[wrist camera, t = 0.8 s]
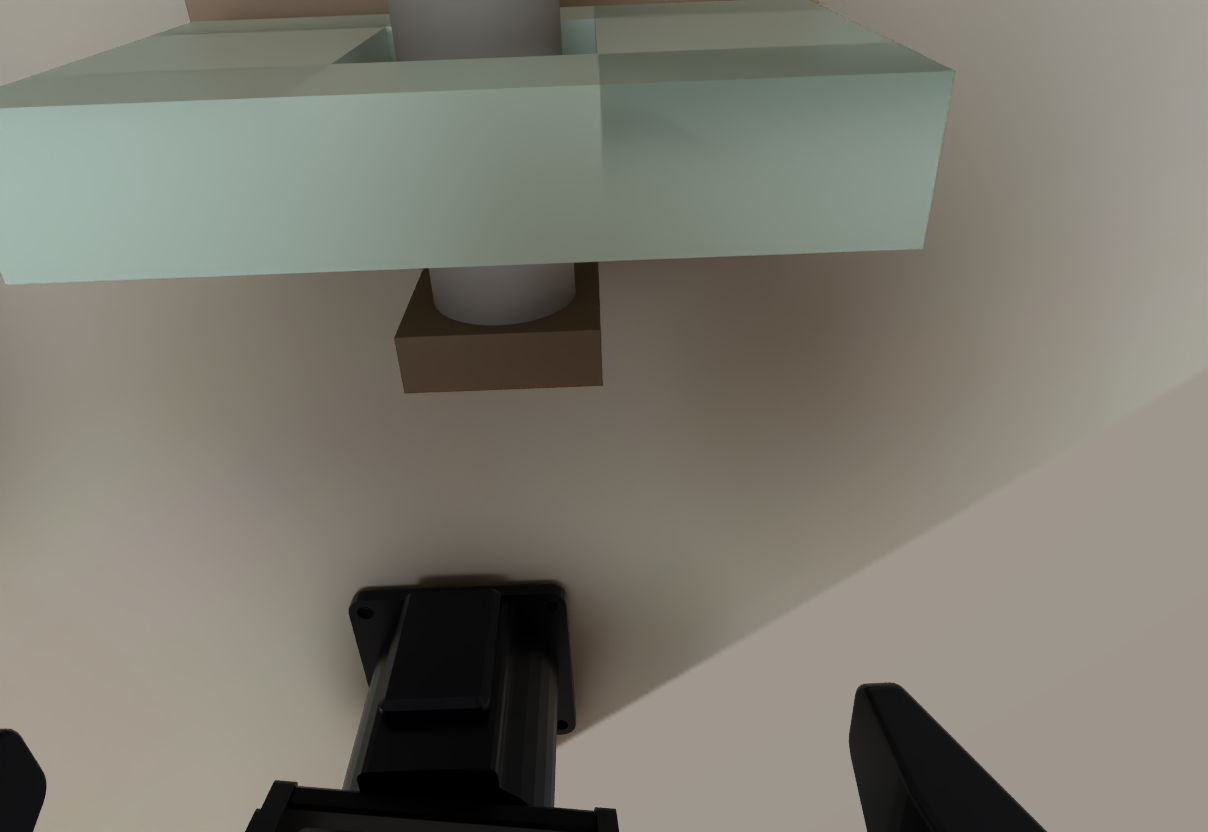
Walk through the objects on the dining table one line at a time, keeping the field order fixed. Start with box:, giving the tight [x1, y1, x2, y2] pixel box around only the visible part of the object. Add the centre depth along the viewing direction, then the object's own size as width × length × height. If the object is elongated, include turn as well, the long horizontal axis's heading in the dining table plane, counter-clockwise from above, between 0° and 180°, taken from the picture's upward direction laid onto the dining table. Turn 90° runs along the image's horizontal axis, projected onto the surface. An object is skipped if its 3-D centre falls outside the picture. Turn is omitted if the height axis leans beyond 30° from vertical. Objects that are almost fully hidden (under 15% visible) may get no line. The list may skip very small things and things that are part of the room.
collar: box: [0, 0, 955, 285], centre depth 12 cm, size 2×11×7 cm, turn 92°
